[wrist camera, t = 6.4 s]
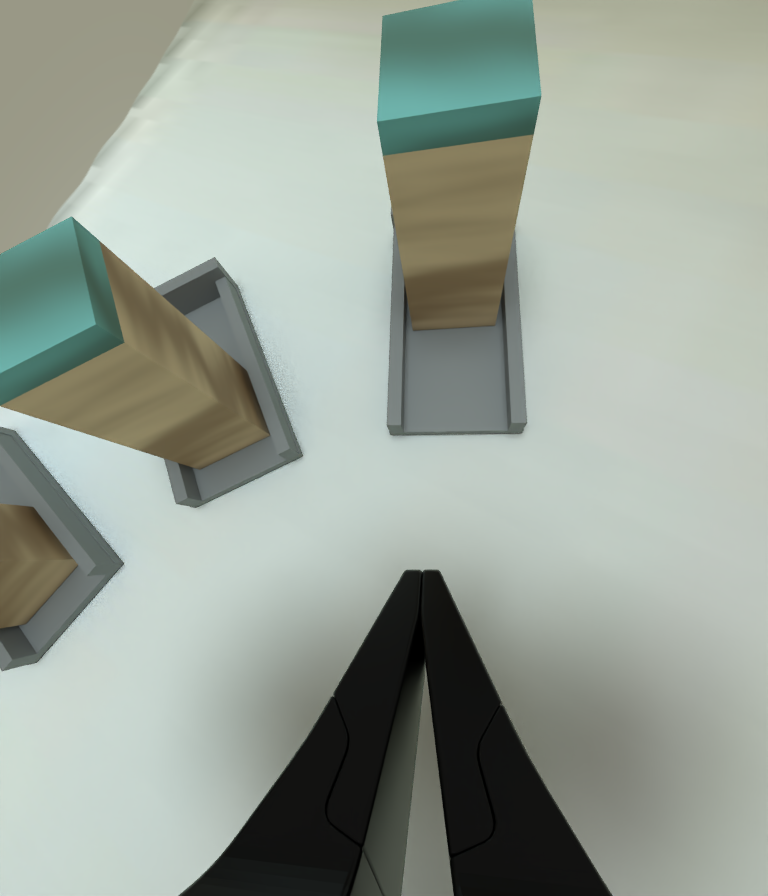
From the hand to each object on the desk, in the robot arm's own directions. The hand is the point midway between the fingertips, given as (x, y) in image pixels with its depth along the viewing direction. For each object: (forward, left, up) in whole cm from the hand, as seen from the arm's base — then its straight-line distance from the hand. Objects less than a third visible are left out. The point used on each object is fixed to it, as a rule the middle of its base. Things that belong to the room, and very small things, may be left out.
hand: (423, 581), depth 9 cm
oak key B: (+9, +11, -9) cm, 17 cm away
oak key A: (+15, -2, -9) cm, 18 cm away
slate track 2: (+11, +12, -10) cm, 19 cm away
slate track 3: (+13, -2, -10) cm, 16 cm away
